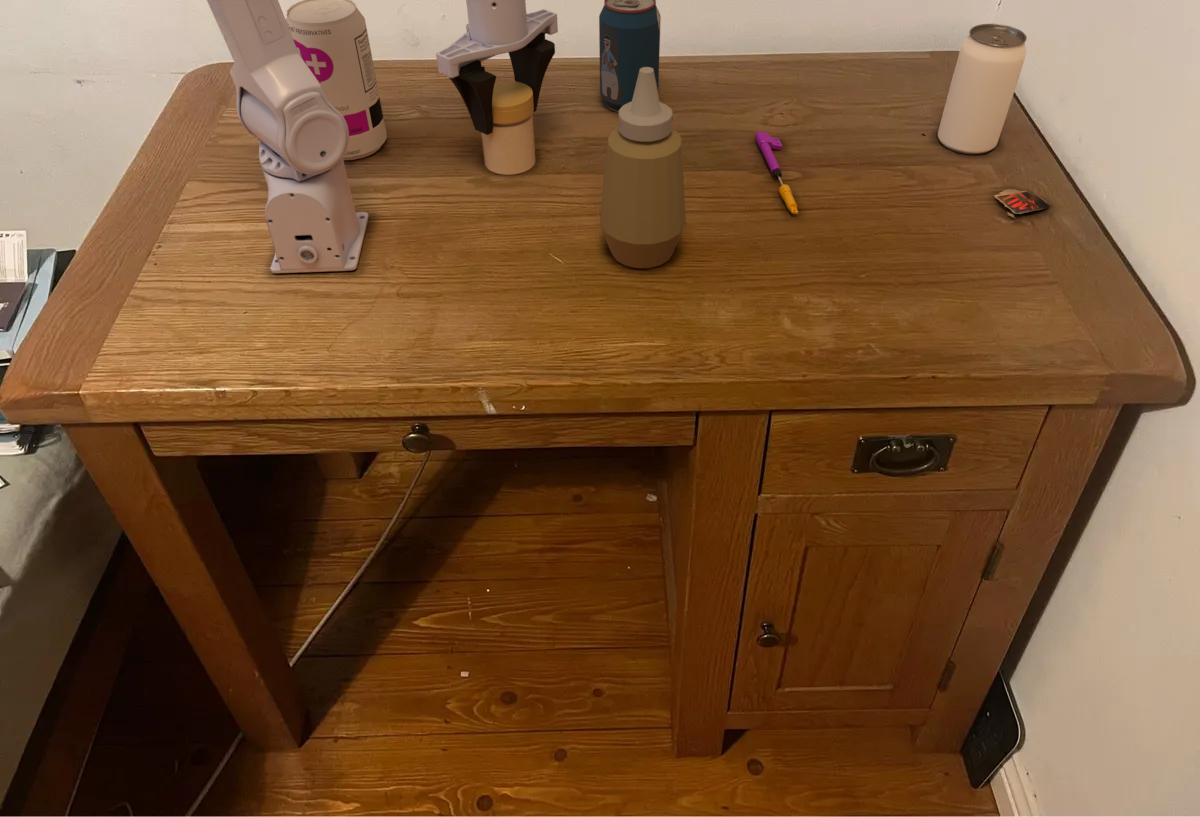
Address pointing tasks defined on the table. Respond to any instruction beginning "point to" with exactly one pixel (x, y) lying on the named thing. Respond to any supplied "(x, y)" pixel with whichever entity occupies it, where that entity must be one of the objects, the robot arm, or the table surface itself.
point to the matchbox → (1021, 201)
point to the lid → (511, 102)
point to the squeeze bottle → (643, 181)
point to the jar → (510, 147)
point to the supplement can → (341, 67)
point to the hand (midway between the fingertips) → (506, 119)
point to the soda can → (627, 47)
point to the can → (982, 88)
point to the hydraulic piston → (775, 166)
